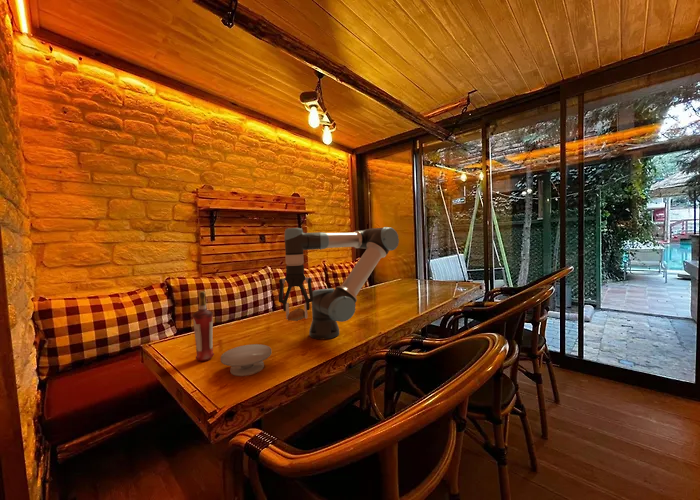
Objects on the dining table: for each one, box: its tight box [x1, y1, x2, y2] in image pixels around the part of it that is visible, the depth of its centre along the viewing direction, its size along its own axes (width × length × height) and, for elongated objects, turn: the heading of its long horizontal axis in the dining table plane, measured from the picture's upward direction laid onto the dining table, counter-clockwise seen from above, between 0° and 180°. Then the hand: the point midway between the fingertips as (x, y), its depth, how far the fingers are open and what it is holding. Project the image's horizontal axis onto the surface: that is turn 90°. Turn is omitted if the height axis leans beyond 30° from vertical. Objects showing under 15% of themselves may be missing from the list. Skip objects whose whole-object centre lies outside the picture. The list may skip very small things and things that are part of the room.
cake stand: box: [220, 343, 272, 377], centre depth 109 cm, size 18×18×6 cm
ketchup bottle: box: [192, 291, 215, 362], centre depth 119 cm, size 7×7×28 cm
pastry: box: [287, 307, 305, 322], centre depth 122 cm, size 9×7×4 cm
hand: (297, 317), depth 123 cm, fingers closed on pastry, 7 cm apart
